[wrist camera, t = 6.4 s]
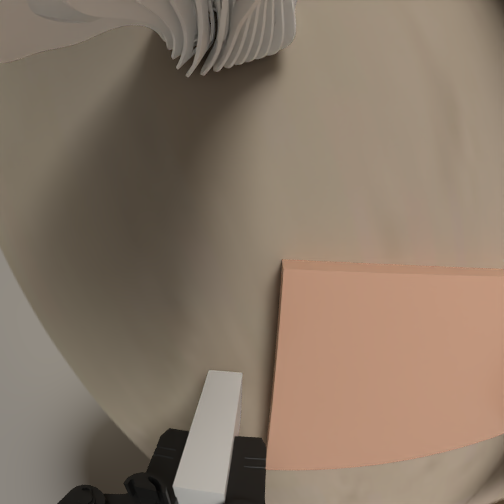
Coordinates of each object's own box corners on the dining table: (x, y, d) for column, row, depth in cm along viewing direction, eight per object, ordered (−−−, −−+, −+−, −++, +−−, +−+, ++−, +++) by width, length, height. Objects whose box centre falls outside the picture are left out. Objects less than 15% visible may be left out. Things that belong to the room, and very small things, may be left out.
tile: (265, 446, 17) (264, 469, 15) (281, 256, 14) (283, 268, 12) (496, 417, 16) (507, 432, 14) (549, 268, 13) (568, 277, 11)
